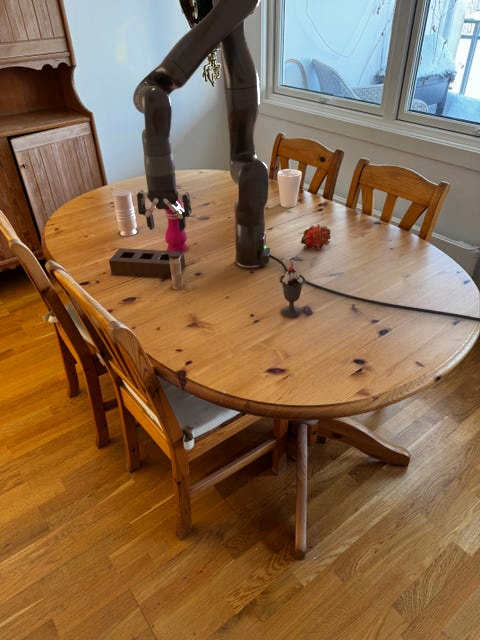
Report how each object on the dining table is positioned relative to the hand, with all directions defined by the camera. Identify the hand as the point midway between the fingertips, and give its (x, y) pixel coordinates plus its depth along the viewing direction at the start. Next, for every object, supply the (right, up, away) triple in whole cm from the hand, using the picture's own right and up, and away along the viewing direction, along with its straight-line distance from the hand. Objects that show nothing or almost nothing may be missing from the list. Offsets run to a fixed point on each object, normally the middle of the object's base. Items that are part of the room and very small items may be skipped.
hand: (167, 229), depth 128 cm
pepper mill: (-1, -1, +29) cm, 29 cm away
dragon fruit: (+45, -1, +28) cm, 53 cm away
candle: (-21, +7, +42) cm, 48 cm away
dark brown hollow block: (-9, -9, +18) cm, 22 cm away
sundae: (+34, -23, -3) cm, 41 cm away
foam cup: (+40, +22, +62) cm, 77 cm away
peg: (+2, -15, +9) cm, 18 cm away
